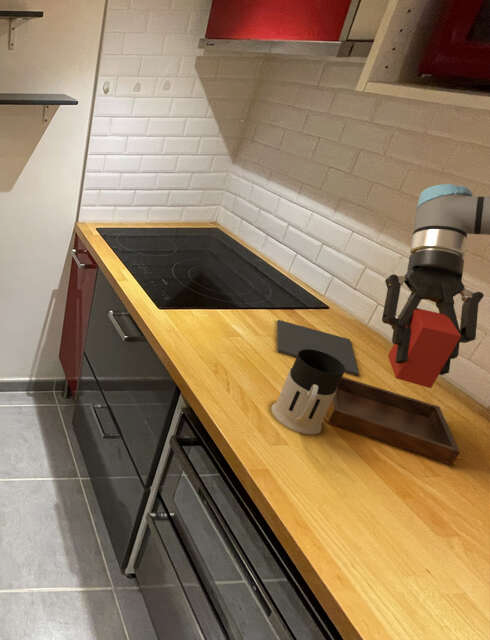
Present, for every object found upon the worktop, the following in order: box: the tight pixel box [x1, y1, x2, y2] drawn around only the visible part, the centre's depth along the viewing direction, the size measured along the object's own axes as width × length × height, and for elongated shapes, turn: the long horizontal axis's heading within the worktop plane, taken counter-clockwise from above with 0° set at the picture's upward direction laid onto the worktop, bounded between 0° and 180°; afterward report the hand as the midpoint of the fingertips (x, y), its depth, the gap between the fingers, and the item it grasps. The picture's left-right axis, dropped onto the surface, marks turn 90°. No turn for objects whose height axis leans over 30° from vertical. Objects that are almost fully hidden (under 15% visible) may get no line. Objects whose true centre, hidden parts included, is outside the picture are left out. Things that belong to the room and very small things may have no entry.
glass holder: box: [270, 349, 346, 435], centre depth 89 cm, size 9×14×15 cm, turn 140°
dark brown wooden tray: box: [326, 376, 461, 467], centre depth 93 cm, size 19×14×4 cm
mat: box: [276, 319, 359, 377], centre depth 116 cm, size 16×16×1 cm
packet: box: [387, 307, 461, 389], centre depth 85 cm, size 5×8×12 cm, turn 147°
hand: (421, 367), depth 84 cm, fingers closed on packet, 5 cm apart
